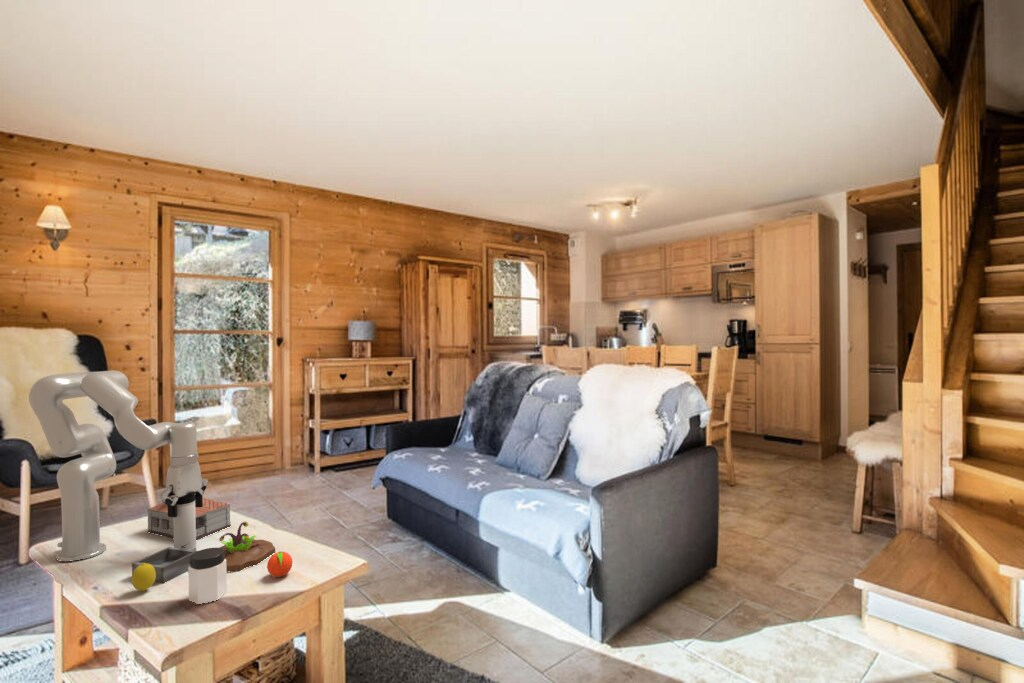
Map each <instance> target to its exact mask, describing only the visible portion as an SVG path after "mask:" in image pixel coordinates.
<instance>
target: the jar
mask: <svg viewBox="0 0 1024 683" xmlns="http://www.w3.org/2000/svg"><path fill="white" fill-rule="evenodd" d="M196 551H197V552H195V553H193V554H192V555H191V556H190V566H189V567H188V571H187V572H188V600H189V602H191V601H192V602H191V603H193V602H195V603H196V604H195V603H194V604H195V605H197V604H201V605H203V604H202V603H205V604H209V603H212V601H214V602H217V601H216V600H218V599H219V600H220V599H221V598H222V597H223V596H225V595H226V594H227V593H228V584H227V582H228V581H227V580H228V577H227V573H228V572H227V569H226V559H225V558H224V549H222V548H219V547H207V548H203V549H200V550H196ZM219 600H218V601H219ZM208 602H209V603H208Z"/></svg>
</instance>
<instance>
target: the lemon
mask: <svg viewBox="0 0 1024 683" xmlns="http://www.w3.org/2000/svg"><path fill="white" fill-rule="evenodd" d="M155 578H156V572H155V568H154V567H153V566H152V565H151V564H147V563H142V564H141V565H139V566H138V567H137V568H136V569H135V570H134V572H133V575H132V574H131V585H132V587H133V588H134V589H135V590H137V591H141V592H145V591H147V590H148V589H149V588H151V587H152V586H153V585H154V583H155V582H154V581H155Z"/></svg>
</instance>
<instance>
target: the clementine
mask: <svg viewBox="0 0 1024 683" xmlns="http://www.w3.org/2000/svg"><path fill="white" fill-rule="evenodd" d="M292 566H293V557H292V556H291V554H289V553H288V552H287V551H277V552H275V554H274V555H272V556H271V557H269V558H268V560H267V566H266V569H267V572H268V573H269V574H270V575H271V576H272V577H274V578H281V577H283V576H285V575H287V574H288V573H289V572H290V571H291V569H292Z"/></svg>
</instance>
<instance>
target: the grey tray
mask: <svg viewBox="0 0 1024 683" xmlns="http://www.w3.org/2000/svg"><path fill="white" fill-rule="evenodd" d="M197 551H198V550H187V549H179V548H174V547H171V546H168V547H166V548H164V549H161V550H160V551H157V552H155V553H152V554H150V555H148V556H146V557H142V558H141V559H139V560H137V561H134V562H132V563H131V576H132V575H133V572H134V570H135V569H136V568H137V567H138V566H139V565H141V564H142V563H147V564H151V565H152V566H153V567H154V568H155V572H156V578H155V581H154V583H158V582H160V583H159V584H165V582H166V583H167V581H168V582H169V581H171V580H173V579H175V578H177V577H179V576H180V575H183V574H185V573H187V572H189V571H188V567H189V566H190V556H191V555H192V554H193V553H195V552H197Z"/></svg>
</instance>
